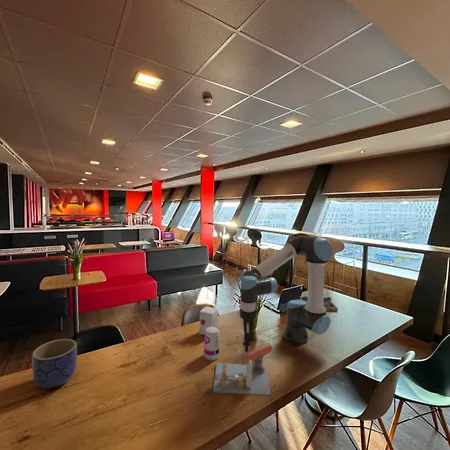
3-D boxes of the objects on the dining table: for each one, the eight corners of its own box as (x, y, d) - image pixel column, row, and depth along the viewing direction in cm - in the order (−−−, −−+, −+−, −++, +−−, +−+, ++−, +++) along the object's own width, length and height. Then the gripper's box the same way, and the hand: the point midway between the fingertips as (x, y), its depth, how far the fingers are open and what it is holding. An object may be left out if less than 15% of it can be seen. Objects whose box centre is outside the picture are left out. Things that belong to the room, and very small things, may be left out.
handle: (267, 348, 128) (268, 341, 128) (274, 353, 125) (275, 345, 125) (243, 361, 117) (243, 352, 117) (249, 366, 114) (250, 357, 114)
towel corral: (327, 301, 218) (327, 297, 218) (337, 311, 196) (337, 308, 196) (298, 299, 219) (299, 296, 219) (305, 310, 197) (305, 306, 197)
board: (266, 368, 124) (266, 354, 124) (271, 397, 105) (271, 381, 104) (216, 364, 126) (217, 351, 125) (212, 393, 106) (213, 377, 106)
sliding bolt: (251, 383, 111) (251, 360, 110) (251, 388, 108) (252, 364, 107) (214, 380, 112) (215, 357, 111) (214, 385, 109) (214, 362, 108)
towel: (332, 305, 206) (332, 295, 205) (317, 308, 196) (317, 299, 196) (316, 299, 219) (317, 291, 218) (302, 302, 209) (302, 293, 209)
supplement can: (207, 362, 127) (208, 334, 126) (201, 354, 134) (202, 327, 133) (221, 358, 131) (222, 331, 130) (215, 350, 138) (215, 324, 137)
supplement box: (198, 334, 155) (199, 311, 154) (205, 327, 164) (205, 305, 163) (211, 337, 152) (212, 313, 151) (217, 330, 160) (218, 308, 159)
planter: (43, 399, 100) (42, 364, 99) (26, 383, 109) (25, 351, 108) (84, 376, 114) (84, 345, 113) (66, 363, 123) (65, 334, 122)
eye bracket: (242, 381, 113) (243, 364, 112) (242, 390, 107) (243, 373, 106) (222, 379, 113) (222, 363, 113) (221, 389, 107) (221, 372, 107)
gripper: (240, 303, 124) (238, 348, 126) (240, 314, 111) (238, 364, 113) (255, 304, 123) (253, 349, 125) (256, 315, 110) (254, 365, 112)
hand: (246, 356), depth 119 cm, fingers closed
